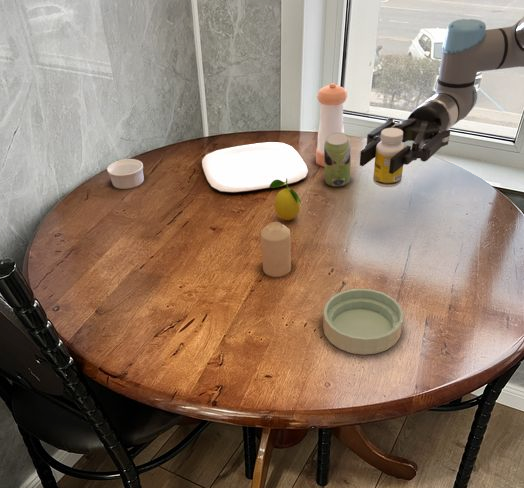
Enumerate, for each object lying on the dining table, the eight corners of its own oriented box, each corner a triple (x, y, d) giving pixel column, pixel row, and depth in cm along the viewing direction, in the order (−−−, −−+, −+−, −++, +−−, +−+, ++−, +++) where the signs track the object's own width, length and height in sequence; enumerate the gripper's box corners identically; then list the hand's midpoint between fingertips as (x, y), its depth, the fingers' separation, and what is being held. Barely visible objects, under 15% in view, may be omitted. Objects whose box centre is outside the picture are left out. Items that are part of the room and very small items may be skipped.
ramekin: (153, 178, 138) (149, 161, 135) (131, 193, 133) (128, 177, 130) (125, 172, 141) (121, 156, 138) (103, 187, 136) (99, 171, 133)
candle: (292, 277, 104) (291, 232, 98) (264, 279, 104) (261, 234, 97) (289, 261, 108) (288, 216, 102) (262, 263, 108) (259, 219, 101)
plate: (213, 202, 127) (213, 195, 126) (197, 158, 145) (197, 151, 144) (316, 185, 131) (316, 178, 130) (288, 144, 149) (288, 137, 148)
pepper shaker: (336, 154, 143) (339, 76, 129) (349, 165, 138) (353, 85, 124) (311, 159, 141) (312, 81, 128) (323, 170, 136) (325, 91, 123)
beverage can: (350, 177, 133) (353, 128, 124) (348, 192, 128) (351, 142, 119) (324, 177, 134) (326, 128, 125) (321, 191, 129) (323, 141, 120)
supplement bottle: (372, 175, 108) (376, 126, 101) (399, 175, 107) (406, 125, 101) (373, 188, 104) (378, 138, 97) (402, 188, 104) (409, 137, 97)
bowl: (412, 321, 94) (415, 303, 91) (381, 367, 86) (383, 349, 83) (344, 298, 99) (345, 280, 96) (309, 340, 91) (309, 322, 89)
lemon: (270, 215, 122) (268, 173, 115) (295, 211, 122) (295, 169, 116) (277, 230, 117) (275, 187, 110) (303, 226, 118) (303, 183, 111)
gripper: (471, 147, 110) (420, 194, 97) (389, 129, 118) (332, 170, 106) (479, 109, 105) (426, 153, 92) (393, 93, 113) (334, 131, 100)
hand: (376, 162), depth 99 cm, fingers closed on supplement bottle, 5 cm apart
